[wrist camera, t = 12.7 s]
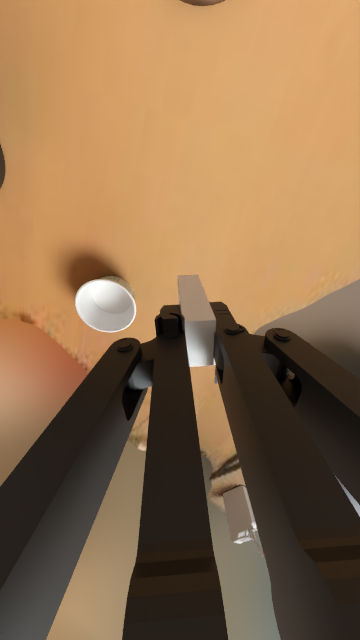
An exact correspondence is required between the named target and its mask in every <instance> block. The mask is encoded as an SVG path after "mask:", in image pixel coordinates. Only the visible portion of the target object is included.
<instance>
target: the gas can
mask: <svg viewBox="0 0 360 640" xmlns="http://www.w3.org/2000/svg"><path fill="white" fill-rule="evenodd" d="M223 499H224V504H225V510H226V515H227V521H228V526H229V532H230V537H231V540H232V542H235V543H238V544H240V543H243V542H245V541H248V540H251V539H253V540H254V542H255V544H256V546H257V549H258V550H259V552H260V554H261V555H262V556H263V557H264V558H265V556H264V552H263V551H262V550H261V549H260V547H259V545H258V543H257V540H256V537H255V534H254V532H255V531H257V529H256V527H257V526H256V522H255V518H254V515H253V511H252V507H251V503H250V500H249V496H248V492H247V488H246V487H244V486H242V485H241V486H239V487H236V488H234V489H232V490H230V491H227V492H225V493H223ZM244 535H245V536H244Z"/></svg>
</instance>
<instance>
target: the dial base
mask: <svg viewBox="0 0 360 640" xmlns="http://www.w3.org/2000/svg"><path fill="white" fill-rule="evenodd" d="M181 1H183V2H185V3H188V4H191V5H197V6H208V5H214V4H217V3H220V2H223V1H225V0H181Z"/></svg>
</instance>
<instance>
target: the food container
mask: <svg viewBox="0 0 360 640" xmlns="http://www.w3.org/2000/svg"><path fill="white" fill-rule="evenodd" d="M75 307H76V310H77V312H78V314H79V316H80V317H81V319H82V320H83V321H84V322H85V323H86V324H87V325H89V326H90V327H92V328H94V329H96V330H99V331H103V332H118V331H121V330H123V329H125V328H127V327H128V326H129V325H130V324H131V323H132V322H133V320H134V318H135V315H136V305H135V301H134V294H133V291H132V288H131V287H130V285H129V284H128V283H127V282H126V281H124V280H123V279H121V278H119V277H116V276H105V277H102V278H100V279H95V280H91V281H89V282H87V283H85V284H83V285H82V286H81V287H80V288H79V290H78V291H77V293H76V297H75Z"/></svg>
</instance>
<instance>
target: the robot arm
mask: <svg viewBox="0 0 360 640" xmlns="http://www.w3.org/2000/svg"><path fill="white" fill-rule="evenodd" d="M4 177H5V161H4V156H3V152H2V148H1V145H0V188H1V186H2V184H3V181H4ZM178 296H179V305H165V306H163V307H162V308H161V310H160V314H159V315H158V316H156V318H155V327H156V337H155V338H154V339H153V340H151V341H148V342H145V343H142V344H140V342H139V341H138V340H137V339H135V338H123V339H120V340H118V341H116V342H114V343H113V344H112V345H111V346H110V347H109V348H108V350H107V351H106V352H105V354H104V355H103V356H102V357H101V359H100V360H99V361H98V362H97V364H96V365H95V366H94V368H93V369H92V370H91V371H90V373H89V374H88V375H87V377H86V378H85V379H84V380H83V382H82V383H81V384H80V386H79V387H78V388H77V389H76V391H75V392H74V393H73V395H72V396H71V397H70V398H69V400H68V401H67V402H66V403H65V405H64V406H63V407H62V409H61V410H60V411H59V412H58V414H57V415H56V417H55V418H54V419H53V420H52V421H51V423H50V424H49V425H48V427H47V428H46V429H45V430H44V432H43V433H42V434H41V435H40V437H39V438H38V439H37V441H36V442H35V443H34V444H33V446H32V447H31V448H30V449H29V451H28V452H27V453H26V455H25V456H24V457H23V458H22V460H21V461H20V462H19V464H18V465H17V466H16V467H15V469H14V470H13V471H12V472H11V474H10V475H9V476H8V478H7V479H6V480H5V481H4V483H3V484H2V485H1V487H0V640H46V638H47V636H48V633H49V631H50V629H51V626H52V624H53V621H54V619H55V616H56V614H57V611H58V609H59V606H60V604H61V601H62V599H63V597H64V594H65V592H66V589H67V587H68V584H69V582H70V579H71V577H72V574H73V572H74V569H75V567H76V564H77V562H78V560H79V557H80V555H81V552H82V550H83V547H84V545H85V542H86V540H87V538H88V535H89V532H90V530H91V527H92V525H93V523H94V520H95V518H96V515H97V513H98V511H99V508H100V506H101V503H102V501H103V498H104V495H105V493H106V491H107V488H108V486H109V483H110V481H111V479H112V476H113V473H114V471H115V469H116V466H117V464H118V461H119V459H120V456H121V454H122V452H123V449H124V446H125V444H126V442H127V439H128V437H129V434H130V432H131V429H132V427H133V424H134V422H135V420H136V417H137V415H138V412H139V410H140V407H141V405H142V402H143V400H144V397H145V395H146V393H147V389H148V387H150V386H152V392H151V403H150V415H149V426H148V437H147V449H146V461H145V472H144V483H143V494H142V506H141V518H140V528H139V541H138V550H137V557H136V563H135V566H134V570H133V573H132V576H131V580H130V585H129V592H128V597H127V603H126V604H127V605H126V611H125V619H124V628H123V637H122V640H228V635H227V628H226V620H225V613H224V606H223V600H222V593H221V586H220V581H219V576H218V570H217V566H216V561H215V557H214V551H213V545H212V538H211V532H210V531H211V530H210V523H209V515H208V507H207V499H206V492H205V484H204V476H203V468H202V461H201V453H200V445H199V437H198V429H197V422H196V414H195V406H194V398H193V390H192V383H191V375H190V367H194V366H210V365H214V360H215V363H216V368H215V384H217V381H218V384H219V388H220V392H221V395H222V399H223V403H224V407H225V410H226V414H227V418H228V421H229V425H230V429H231V433H232V436H233V440H234V444H235V448H236V451H237V455H238V459H239V462H240V466H241V470H242V474H243V477H244V481H245V485H246V488H247V492H248V496H249V500H250V503H251V507H252V511H253V515H254V518H255V522H256V526H257V529H258V533H259V537H260V540H261V544H262V548H263V552H264V556H265V559H266V563H267V567H268V571H269V575H270V581H271V591H272V601H273V607H274V612H275V617H276V621H277V626H278V630H279V634H280V637H281V640H360V517H359V515H358V513H357V512H356V510H355V508H354V507H353V505H352V504H351V502H350V500H349V499H348V497H347V495H346V493H345V492H344V490H343V489H342V487H341V485H340V484H339V482H338V480H337V479H336V477H337V478H338V479H339V480H340V482H341V483H342V484H343V485H344V487H345V488H346V489H347V490H348V491H349V493H350V494H351V495H352V496H353V497H354V499H355V500H356V501H357V502H358V503H359V505H360V379H358V378H357V377H355V376H354V375H353V374H351V373H350V372H348V371H347V370H346V369H344V368H343V367H341V366H340V365H338V364H337V363H336V362H334V361H333V360H331V359H330V358H329V357H327V356H326V355H324V354H323V353H321V352H320V351H319V350H317V349H316V348H314V347H313V346H311V345H310V344H309V343H307V342H306V341H304V340H303V339H302V338H300V337H299V336H297V335H296V334H294V333H293V332H291V331H289V330H286V329H282V328H274V329H273V328H272V329H270V330H268V331H267V332H266V334H265V336H258V335H252V334H249V333H248V331H247V329H246V328H245V327H243V326H242V325H240V324H237V323H236V322H235V320H234V318H233V316H232V314H231V313H230V311H229V309H228V307H227V305H225V304H224V303H222V302H209V301H208V298H207V296H206V293H205V291H204V288H203V286H202V283H201V281H200V278H199V276H198V275H183V276H178ZM289 370H290V371H292V372H293V373H294V374H295V377H294V378H293V377H292V376H290V375H289V374H288V373H289ZM333 473H334V474H335V475H334V474H333ZM335 476H336V477H335Z"/></svg>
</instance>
